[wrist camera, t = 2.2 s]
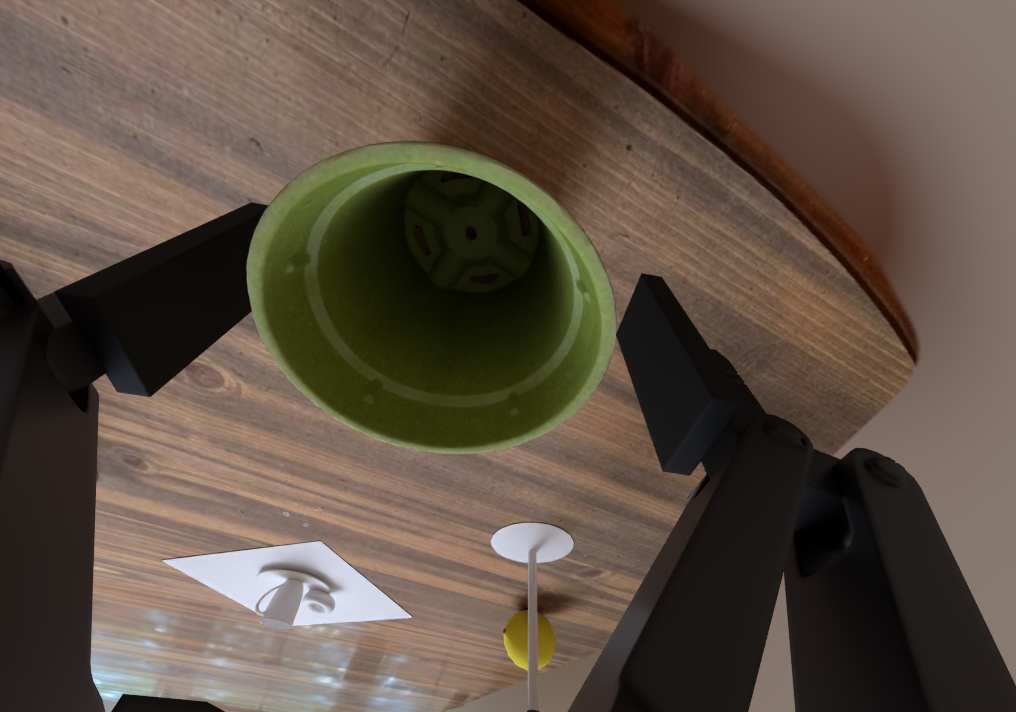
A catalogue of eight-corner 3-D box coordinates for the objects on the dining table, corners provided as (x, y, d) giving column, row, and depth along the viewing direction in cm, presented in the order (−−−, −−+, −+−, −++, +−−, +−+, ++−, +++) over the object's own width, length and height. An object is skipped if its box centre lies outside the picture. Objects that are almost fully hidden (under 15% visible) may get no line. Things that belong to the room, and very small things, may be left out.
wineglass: (550, 510, 30) (573, 990, 15) (591, 555, 35) (644, 962, 19) (469, 531, 33) (414, 956, 17) (517, 571, 37) (509, 938, 22)
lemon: (566, 613, 44) (570, 672, 40) (535, 624, 46) (536, 680, 42) (521, 596, 41) (520, 656, 37) (491, 608, 44) (487, 666, 40)
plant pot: (589, 302, 19) (626, 438, 12) (415, 334, 20) (357, 470, 13) (562, 73, 13) (599, 78, 6) (325, 143, 15) (149, 207, 8)
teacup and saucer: (350, 595, 43) (335, 638, 40) (293, 600, 45) (274, 641, 42) (304, 561, 38) (283, 607, 35) (242, 568, 40) (216, 612, 37)
